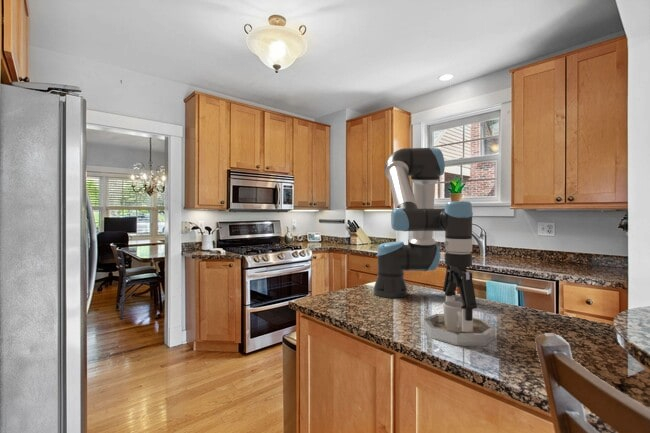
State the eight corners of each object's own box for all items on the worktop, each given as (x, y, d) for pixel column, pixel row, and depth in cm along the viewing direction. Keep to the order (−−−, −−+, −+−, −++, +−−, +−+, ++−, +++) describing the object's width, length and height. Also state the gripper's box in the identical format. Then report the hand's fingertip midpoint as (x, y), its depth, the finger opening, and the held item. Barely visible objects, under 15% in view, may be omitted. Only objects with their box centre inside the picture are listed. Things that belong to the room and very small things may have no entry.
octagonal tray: (419, 322, 107) (419, 313, 107) (475, 323, 106) (475, 314, 106) (437, 345, 89) (437, 334, 89) (505, 346, 88) (505, 335, 88)
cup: (476, 339, 92) (476, 311, 91) (446, 337, 93) (447, 310, 93) (467, 326, 102) (467, 301, 102) (441, 324, 104) (441, 299, 104)
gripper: (433, 248, 110) (433, 310, 110) (462, 258, 85) (461, 338, 85) (455, 248, 109) (455, 311, 110) (490, 258, 85) (490, 339, 85)
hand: (458, 323), depth 97 cm, fingers open, 12 cm apart
